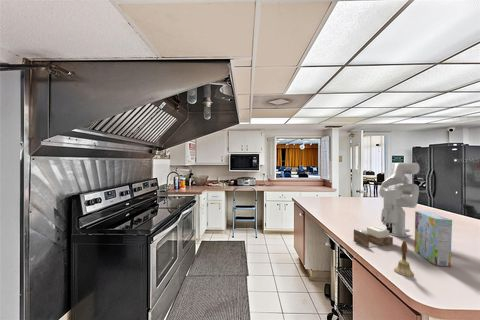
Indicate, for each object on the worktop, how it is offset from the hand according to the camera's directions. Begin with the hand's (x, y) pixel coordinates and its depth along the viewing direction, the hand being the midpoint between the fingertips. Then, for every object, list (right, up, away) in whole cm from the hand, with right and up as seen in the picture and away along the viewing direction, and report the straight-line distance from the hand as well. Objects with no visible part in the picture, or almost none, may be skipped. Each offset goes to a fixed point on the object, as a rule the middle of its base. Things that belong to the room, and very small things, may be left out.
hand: (389, 232), depth 165 cm
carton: (-10, -1, -2) cm, 10 cm away
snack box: (+7, -7, -28) cm, 30 cm away
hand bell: (-22, -6, -46) cm, 51 cm away
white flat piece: (-12, -6, +16) cm, 21 cm away
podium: (-14, -6, -3) cm, 15 cm away
